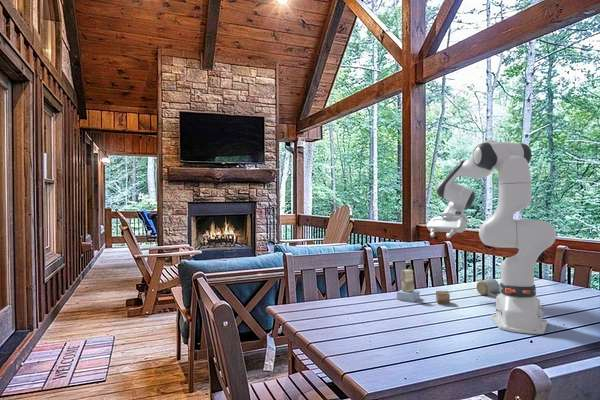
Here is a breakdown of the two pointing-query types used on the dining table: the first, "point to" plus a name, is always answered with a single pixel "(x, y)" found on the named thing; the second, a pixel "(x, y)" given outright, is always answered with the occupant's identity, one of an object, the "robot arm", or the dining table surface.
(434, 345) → the dining table surface
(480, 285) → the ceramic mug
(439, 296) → the walnut cube
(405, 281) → the birch pillar
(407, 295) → the slate slab
